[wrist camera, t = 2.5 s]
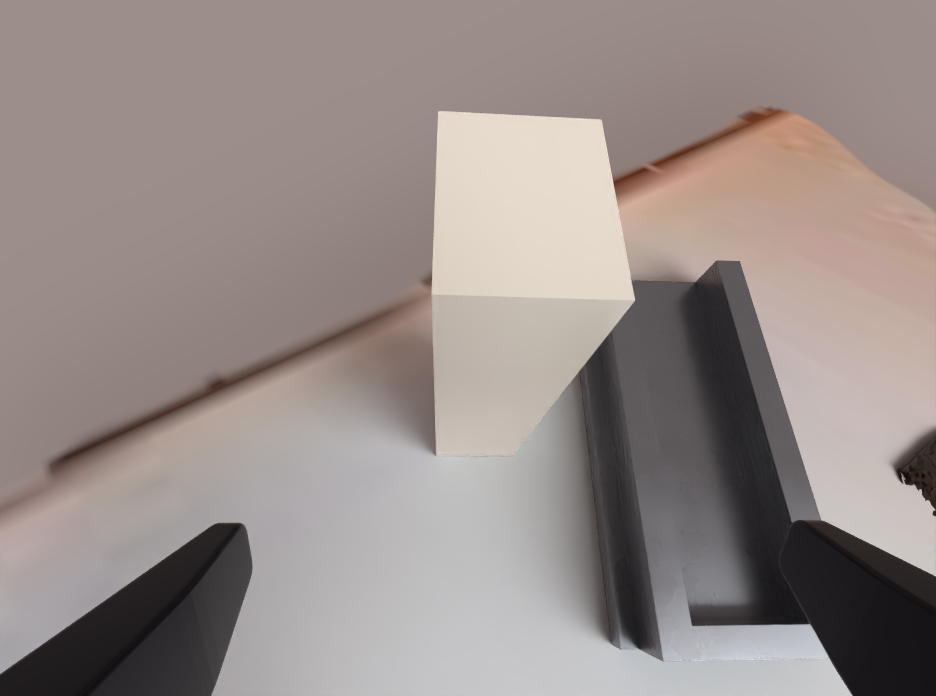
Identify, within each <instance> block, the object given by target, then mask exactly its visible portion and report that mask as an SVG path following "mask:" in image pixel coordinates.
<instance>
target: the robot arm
mask: <svg viewBox="0 0 936 696" xmlns="http://www.w3.org/2000/svg"><path fill="white" fill-rule="evenodd" d="M779 566H780V569H781V572H782V574H783V576H784V577H785V579H786V581H787V583H788V585H789V587H790V588H791V590H792V592H793V594H794V596H795V597H796V599H797V601H798V603H799V605H800V606H801V608H802V610H803V612H804V614H805V615H806V617H807V619H808V621H809V623H810V624H811V626H812V628H813V630H814V632H815V633H816V635H817V637H818V639H819V641H820V642H821V644H822V646H823V648H824V650H825V651H826V653H827V655H828V657H829V658H830V660H831V662H832V664H833V665H834V667H835V669H836V670H837V672H838V674H839V675H840V677H841V678H842V680H843V682H844V683H845V685H846V686H847V688H848V689H849V691H850V692H851V694H852V696H936V576H934V575H932V574H930V573H928V572H926V571H924V570H922V569H920V568H918V567H916V566H914V565H912V564H910V563H908V562H906V561H904V560H901V559H899V558H897V557H895V556H893V555H891V554H889V553H887V552H885V551H883V550H881V549H879V548H877V547H875V546H873V545H871V544H869V543H867V542H865V541H863V540H861V539H859V538H857V537H855V536H853V535H851V534H849V533H847V532H845V531H843V530H841V529H839V528H837V527H835V526H833V525H831V524H829V523H827V522H825V521H821V520H796V521H794V522H793V523H792V524H791V526H790V528H789V530H788V533H787V536H786V538H785V541H784V544H783V547H782V549H781V552H780V555H779ZM251 574H252V557H251V552H250V546H249V540H248V535H247V530H246V527H245V526H244V525H243V524H241V523H217V524H214V525H213V526H211V527H209V528H208V529H206V530H205V531H204V532H202V533H201V534H199V535H198V536H196V537H195V538H194V539H192V540H191V541H189V542H188V543H187V544H185V545H184V546H182V547H181V548H179V549H178V550H177V551H175V552H174V553H172V554H171V555H169V556H168V557H167V558H165V559H164V560H162V561H161V562H159V563H158V564H157V565H155V566H154V567H152V568H151V569H149V570H148V571H147V572H145V573H144V574H142V575H141V576H139V577H138V578H137V579H135V580H134V581H132V582H131V583H129V584H128V585H127V586H125V587H124V588H122V589H121V590H119V591H118V592H117V593H115V594H114V595H112V596H111V597H110V598H108V599H107V600H105V601H104V602H102V603H101V604H100V605H98V606H97V607H95V608H94V609H92V610H91V611H90V612H88V613H87V614H85V615H84V616H82V617H81V618H80V619H78V620H77V621H75V622H74V623H72V624H71V625H70V626H68V627H67V628H65V629H64V630H62V631H61V632H60V633H58V634H57V635H55V636H54V637H52V638H51V639H50V640H48V641H47V642H45V643H44V644H42V645H41V646H40V647H38V648H37V649H35V650H34V651H33V652H31V653H30V654H28V655H27V656H25V657H24V658H23V659H21V660H20V661H18V662H17V663H15V664H14V665H13V666H11V667H10V668H8V669H7V670H5V671H4V672H3V673H1V674H0V696H211V695H212V692H213V690H214V687H215V684H216V682H217V679H218V676H219V673H220V670H221V667H222V664H223V661H224V658H225V655H226V652H227V649H228V646H229V643H230V640H231V637H232V634H233V631H234V628H235V625H236V622H237V619H238V615H239V612H240V609H241V606H242V603H243V600H244V597H245V594H246V591H247V588H248V585H249V582H250V579H251Z"/></svg>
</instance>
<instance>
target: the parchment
mask: <svg viewBox="0 0 936 696" xmlns="http://www.w3.org/2000/svg"><path fill="white" fill-rule="evenodd" d="M897 471H898V474H899V476H900V479H901V478H902V475H901V473H903V474H904V477H906V479H907V481H906V480H904V481H905V484H906V485H913V484H915V486H916V487H917V489H918V490H919V489H922V495H923V497H924V498H925V500H929V501H930V502H931V505H932V506H933V507H934V508H935V511H933V515H934V516H936V438H934V439H933V440H932V441H931V442H930V443H929V444H928V445H926V446H925V447H924V448H923V449H922V450H921V451H920V452H919V453H918V454H917V455H916V457H915V458H914V459H913V460H912V461H911V462H910V463H909V464H908V465H907V466H906V467H904V468H902V469H897ZM900 472H901V473H900ZM902 482H903V481H902Z"/></svg>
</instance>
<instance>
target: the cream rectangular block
mask: <svg viewBox="0 0 936 696" xmlns="http://www.w3.org/2000/svg"><path fill="white" fill-rule="evenodd" d="M435 191H436V192H435V217H434V218H435V219H434V244H433V272H432V325H433V361H434V397H435V433H436V456H513V455H514V453H515V452H516V451H517V449H518V448H519V447H520V446H521V444H522V443H523V442H524V441H525V439H526V438H527V437H528V436H529V434H530V433H531V432H532V430H533V429H534V428H535V427H536V425H537V424H538V423H539V422H540V420H541V419H542V418H543V417H544V415H545V414H546V413H547V411H548V410H549V409H550V408H551V406H552V405H553V404H554V403H555V401H556V400H557V399H558V398H559V396H560V395H561V394H562V392H563V391H564V390H565V389H566V387H567V386H568V385H569V384H570V382H571V381H572V380H573V379H574V377H575V376H576V375H577V373H578V372H579V371H580V370H581V368H582V367H583V366H584V365H585V363H586V362H587V361H588V360H589V358H590V357H591V356H592V354H593V353H594V352H595V351H596V349H597V348H598V347H599V346H600V344H601V343H602V342H603V341H604V339H605V338H606V337H607V335H608V334H609V333H610V332H611V330H612V329H613V328H614V327H615V325H616V324H617V323H618V322H619V320H620V319H621V318H622V316H623V315H624V314H625V313H626V311H627V310H628V309H629V308H630V306H631V305H632V304H633V303H634V301H635V297H634V292H633V286H632V281H631V276H630V270H629V265H628V260H627V254H626V249H625V244H624V238H623V233H622V227H621V222H620V217H619V211H618V206H617V201H616V195H615V190H614V185H613V179H612V174H611V169H610V163H609V158H608V152H607V147H606V142H605V137H604V131H603V126H602V120H598V119H579V118H560V117H541V116H540V117H539V116H522V115H503V114H484V113H464V112H446V111H438V135H437V164H436V190H435Z"/></svg>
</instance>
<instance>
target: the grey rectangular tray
mask: <svg viewBox="0 0 936 696" xmlns="http://www.w3.org/2000/svg"><path fill="white" fill-rule="evenodd" d="M632 286H633V292H634V297H635V301H634V303H633V304H632V305H631V306H630V308H629V309H628V310H627V311H626V313H625V314H624V315H623V316H622V318H621V319H620V320H619V322H618V323H617V324H616V325H615V327H614V328H613V329H612V330H611V332H610V333H609V334H608V335H607V337H606V338H605V339H604V341H603V342H602V343H601V344H600V346H599V347H598V348H597V349H596V351H595V352H594V353H593V354H592V356H591V357H590V358H589V360H588V361H587V362H586V363H585V365H584V366H583V367H582V368H581V370H580V380H581V388H582V397H583V406H584V414H585V423H586V431H587V440H588V448H589V457H590V466H591V474H592V483H593V491H594V500H595V508H596V517H597V526H598V534H599V543H600V551H601V560H602V569H603V577H604V586H605V594H606V603H607V611H608V620H609V629H610V637H611V644H612V645H614V646H615V647H617V648H619V649H640V650H642V651H644V652H646V653H648V654H650V655H652V656H654V657H656V658H658V659H660V660H662V661H719V660H774V659H830V658H829V657H828V655H827V653H826V651H825V650H824V648H823V646H822V644H821V642H820V641H819V639H818V637H817V635H816V633H815V632H814V630H813V628H812V626H811V624H810V623H809V621H808V619H807V617H806V615H805V614H804V612H803V610H802V608H801V606H800V605H799V603H798V601H797V599H796V597H795V596H794V594H793V592H792V590H791V588H790V587H789V585H788V583H787V581H786V579H785V577H784V576H783V574H782V572H781V569H780V566H779V555H780V552H781V549H782V547H783V544H784V541H785V538H786V536H787V533H788V530H789V528H790V526H791V524H792V523H793V522H794V521H796V520H821V518H820V515H819V512H818V509H817V506H816V502H815V499H814V496H813V493H812V490H811V486H810V483H809V480H808V477H807V474H806V471H805V467H804V464H803V461H802V458H801V455H800V452H799V448H798V445H797V442H796V439H795V436H794V432H793V429H792V426H791V423H790V420H789V417H788V413H787V410H786V407H785V404H784V401H783V397H782V394H781V391H780V388H779V385H778V382H777V378H776V375H775V372H774V369H773V366H772V362H771V359H770V356H769V353H768V350H767V347H766V343H765V340H764V337H763V334H762V331H761V327H760V324H759V321H758V318H757V315H756V312H755V308H754V305H753V302H752V299H751V296H750V293H749V289H748V286H747V283H746V280H745V277H744V273H743V270H742V267H741V264H740V261H716V262H715V263H714V264H713V265H712V266H711V267H710V268H709V269H708V270H707V271H706V272H705V273H704V274H703V275H702V276H701V277H700V278H699V279H698V280H697V281H696V282H695V283H692V282H660V281H632Z"/></svg>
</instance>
